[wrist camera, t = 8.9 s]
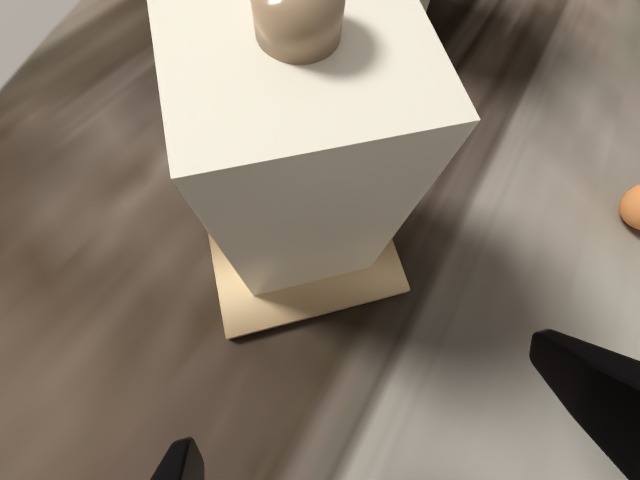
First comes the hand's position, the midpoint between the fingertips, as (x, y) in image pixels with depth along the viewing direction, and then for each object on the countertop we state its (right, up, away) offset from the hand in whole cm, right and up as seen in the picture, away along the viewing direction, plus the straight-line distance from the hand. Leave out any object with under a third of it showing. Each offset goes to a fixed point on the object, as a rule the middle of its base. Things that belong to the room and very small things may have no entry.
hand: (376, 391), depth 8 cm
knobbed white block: (-3, +5, +11) cm, 12 cm away
